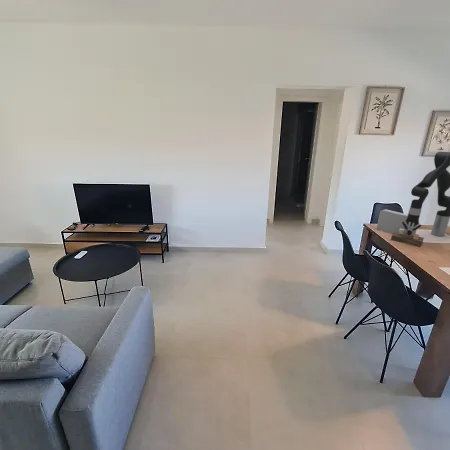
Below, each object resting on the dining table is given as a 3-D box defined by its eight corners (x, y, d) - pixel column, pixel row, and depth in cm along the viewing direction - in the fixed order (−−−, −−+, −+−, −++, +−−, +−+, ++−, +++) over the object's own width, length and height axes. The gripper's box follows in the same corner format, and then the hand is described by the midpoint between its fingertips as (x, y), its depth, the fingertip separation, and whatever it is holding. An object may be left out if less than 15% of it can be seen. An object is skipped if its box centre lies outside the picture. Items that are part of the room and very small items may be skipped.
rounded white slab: (415, 237, 229) (421, 216, 223) (411, 239, 225) (417, 218, 219) (380, 227, 251) (384, 208, 245) (376, 229, 246) (380, 209, 240)
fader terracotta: (413, 237, 216) (414, 233, 215) (418, 238, 214) (419, 234, 213) (413, 238, 214) (414, 234, 212) (417, 240, 212) (418, 235, 211)
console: (394, 235, 231) (395, 231, 230) (422, 242, 219) (424, 237, 218) (390, 239, 222) (392, 235, 221) (420, 246, 210) (421, 241, 209)
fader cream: (399, 232, 227) (400, 228, 226) (403, 233, 225) (404, 229, 224) (398, 233, 225) (399, 229, 224) (402, 234, 223) (403, 230, 222)
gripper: (425, 214, 209) (419, 235, 215) (405, 210, 217) (400, 231, 223) (424, 216, 204) (418, 238, 210) (403, 212, 212) (398, 233, 218)
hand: (408, 234), depth 216 cm, fingers closed
